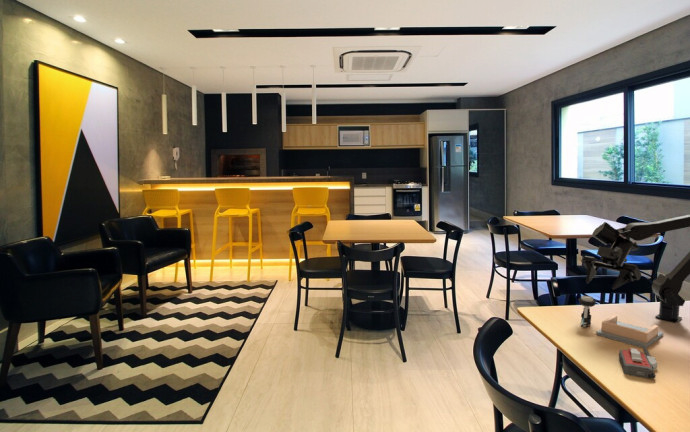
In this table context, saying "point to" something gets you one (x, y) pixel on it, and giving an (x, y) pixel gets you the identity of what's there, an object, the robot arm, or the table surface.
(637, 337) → the end holder
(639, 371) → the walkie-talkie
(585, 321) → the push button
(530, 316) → the table surface
